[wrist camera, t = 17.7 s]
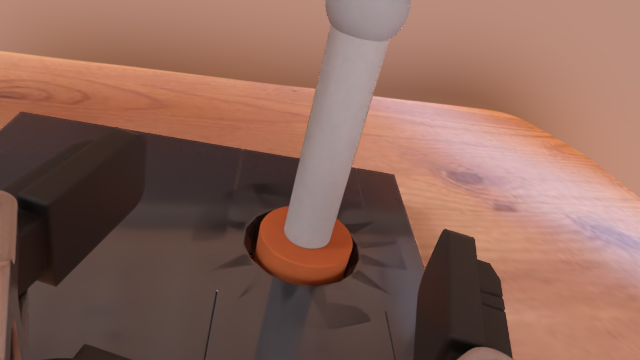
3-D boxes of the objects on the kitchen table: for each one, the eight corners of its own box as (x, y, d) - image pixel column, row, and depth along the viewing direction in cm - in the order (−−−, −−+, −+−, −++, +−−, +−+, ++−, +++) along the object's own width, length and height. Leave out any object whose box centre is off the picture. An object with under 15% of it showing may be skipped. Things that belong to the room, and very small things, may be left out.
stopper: (246, 311, 22) (318, -49, 14) (253, 248, 26) (313, -66, 18) (340, 322, 23) (458, -16, 15) (334, 259, 27) (426, -39, 19)
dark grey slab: (-209, 397, 16) (-238, 344, 14) (24, 149, 29) (20, 110, 28) (446, 449, 19) (470, 412, 18) (383, 205, 32) (394, 174, 31)
